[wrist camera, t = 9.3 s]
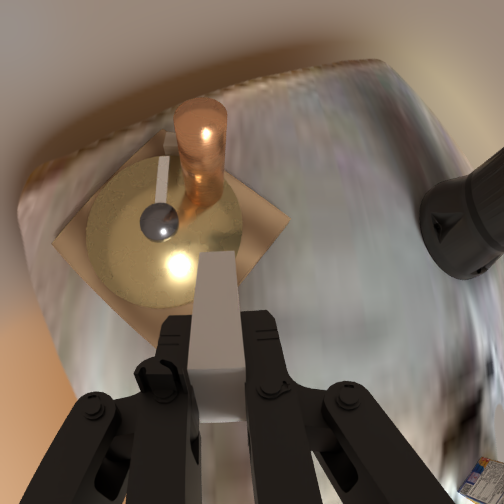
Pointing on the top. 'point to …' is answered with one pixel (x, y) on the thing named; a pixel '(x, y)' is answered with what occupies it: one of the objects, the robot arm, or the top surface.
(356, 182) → the top surface
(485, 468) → the beverage box
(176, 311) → the levelling stand
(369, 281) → the top surface
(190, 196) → the disc
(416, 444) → the top surface
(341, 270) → the top surface
